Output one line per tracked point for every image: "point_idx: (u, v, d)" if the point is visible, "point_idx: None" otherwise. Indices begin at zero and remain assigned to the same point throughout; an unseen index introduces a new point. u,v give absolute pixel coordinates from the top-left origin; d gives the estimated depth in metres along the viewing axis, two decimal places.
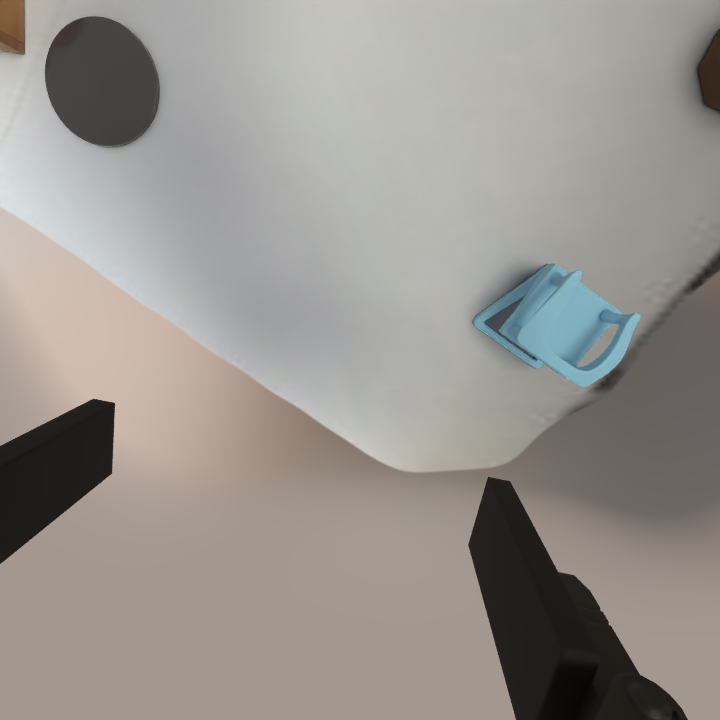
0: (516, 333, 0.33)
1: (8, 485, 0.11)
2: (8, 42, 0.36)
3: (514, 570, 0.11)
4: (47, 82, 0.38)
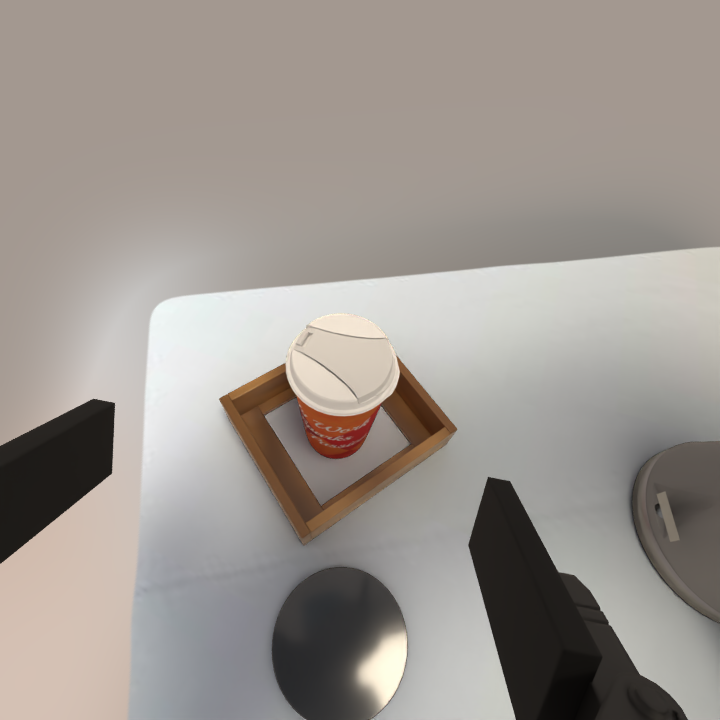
0: None
1: (8, 485, 0.11)
2: (305, 541, 0.34)
3: (514, 570, 0.11)
4: (298, 589, 0.34)
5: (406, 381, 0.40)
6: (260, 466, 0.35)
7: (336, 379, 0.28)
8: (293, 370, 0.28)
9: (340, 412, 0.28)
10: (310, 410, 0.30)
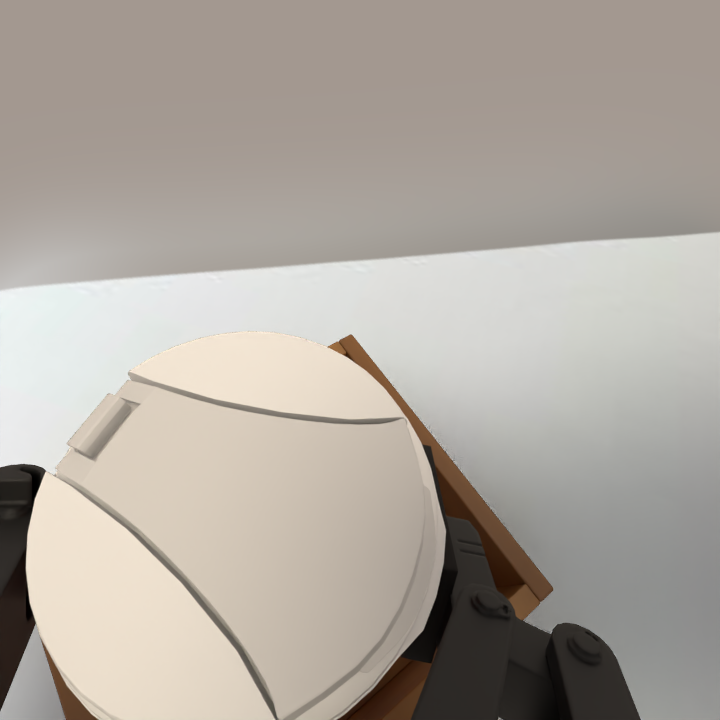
0: None
1: None
2: None
3: None
4: None
5: None
6: None
7: (196, 614, 0.07)
8: (26, 567, 0.07)
9: None
10: None
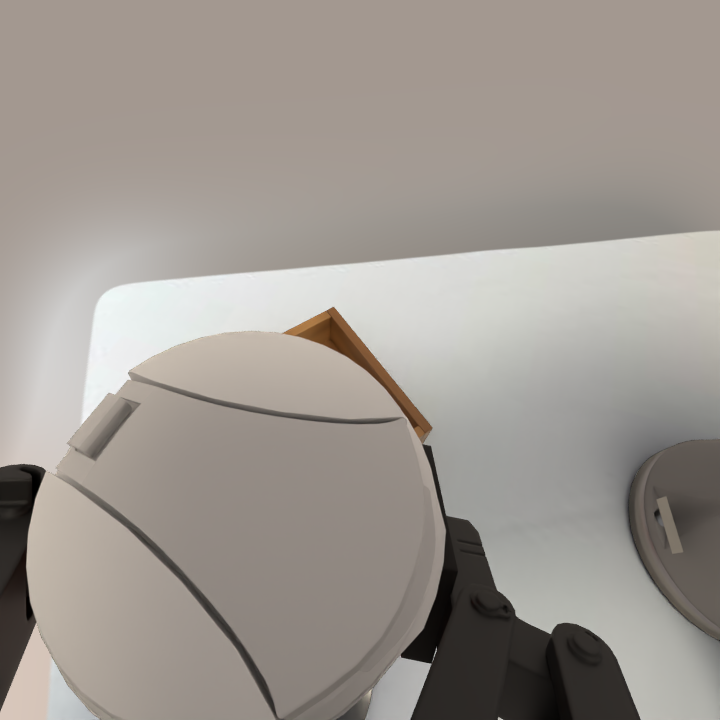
0: None
1: None
2: None
3: None
4: None
5: (376, 375, 0.36)
6: None
7: (196, 613, 0.07)
8: (26, 567, 0.07)
9: None
10: None
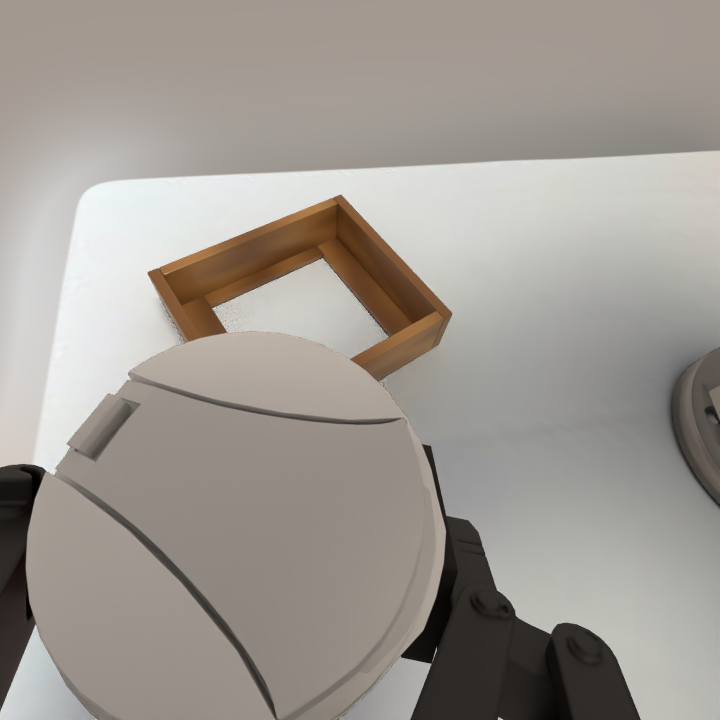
0: None
1: None
2: None
3: None
4: None
5: (388, 262, 0.32)
6: None
7: (196, 614, 0.07)
8: (26, 567, 0.07)
9: None
10: None
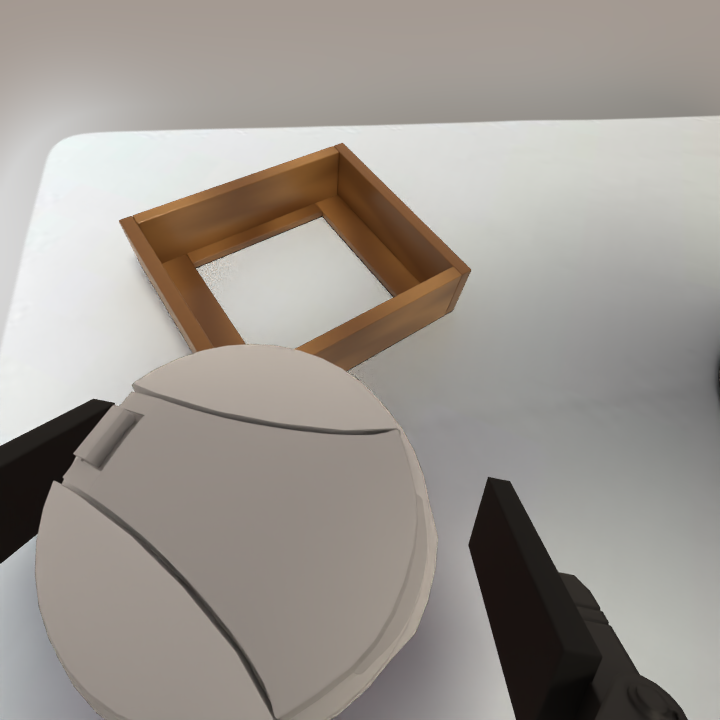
0: None
1: (8, 485, 0.11)
2: None
3: (514, 570, 0.11)
4: None
5: (396, 214, 0.28)
6: (170, 304, 0.22)
7: (198, 618, 0.07)
8: (35, 573, 0.07)
9: None
10: None
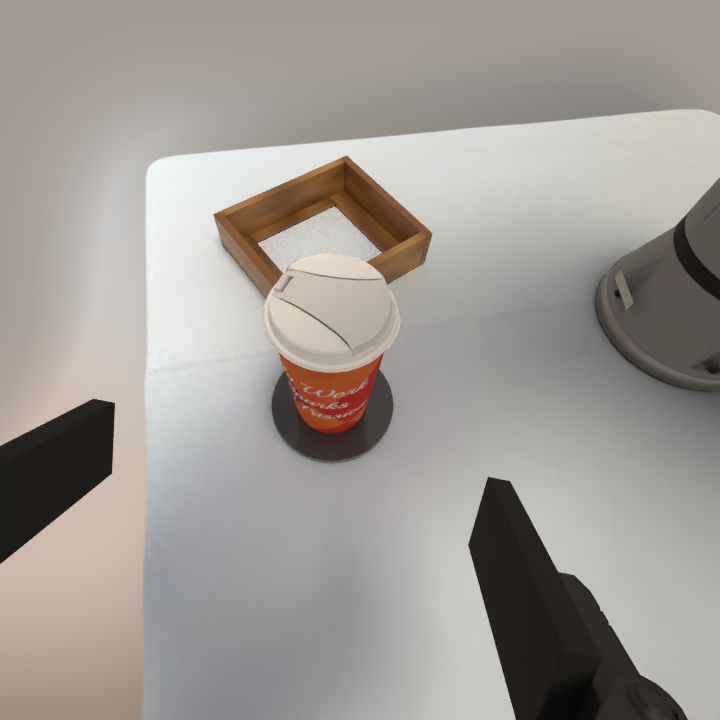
0: None
1: (8, 485, 0.11)
2: None
3: (514, 570, 0.11)
4: None
5: (384, 201, 0.43)
6: (253, 261, 0.38)
7: (324, 327, 0.23)
8: (271, 319, 0.23)
9: (331, 367, 0.23)
10: (296, 370, 0.25)
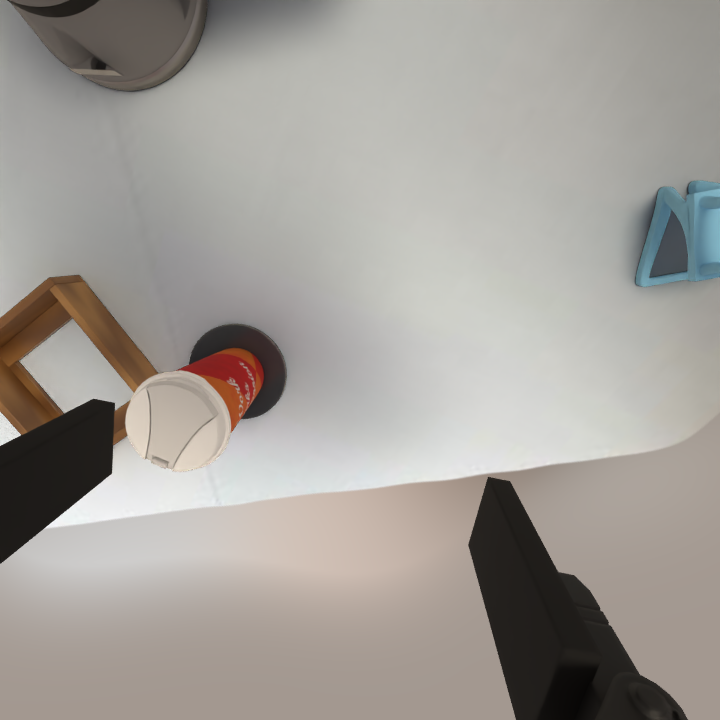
0: (714, 272, 0.32)
1: (8, 485, 0.11)
2: None
3: (514, 570, 0.11)
4: None
5: (12, 321, 0.41)
6: None
7: (197, 435, 0.31)
8: None
9: (227, 425, 0.32)
10: None
